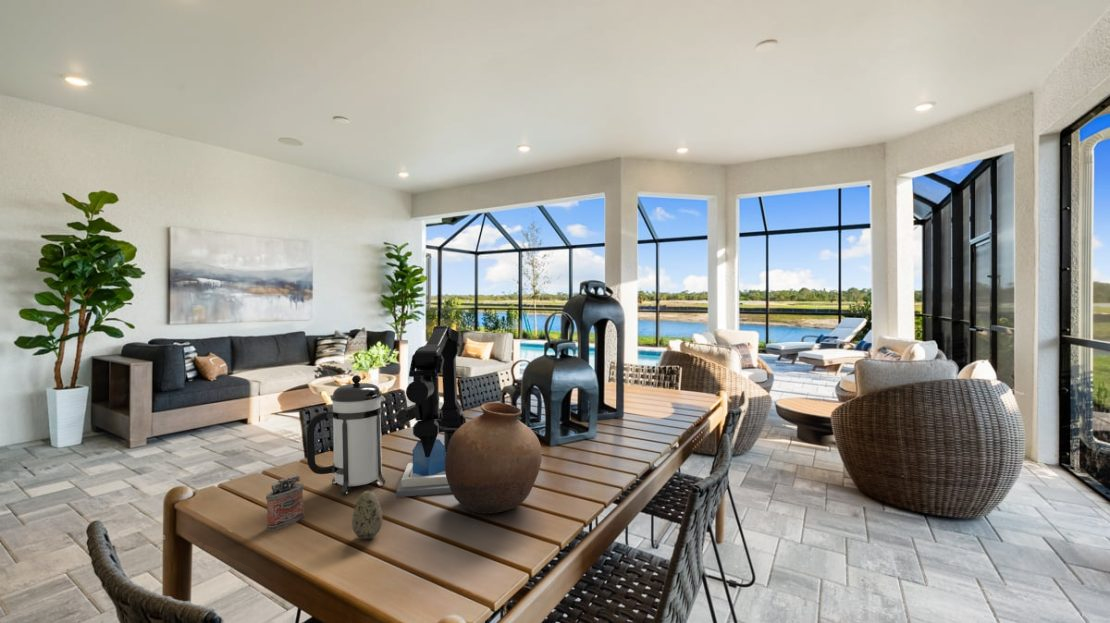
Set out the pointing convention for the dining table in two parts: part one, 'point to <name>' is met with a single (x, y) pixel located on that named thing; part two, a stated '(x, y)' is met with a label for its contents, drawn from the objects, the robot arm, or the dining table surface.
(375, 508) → the decorative egg
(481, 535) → the dining table surface
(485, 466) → the pottery
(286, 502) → the lighter
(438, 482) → the socket board
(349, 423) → the coffee press
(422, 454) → the perfume bottle
